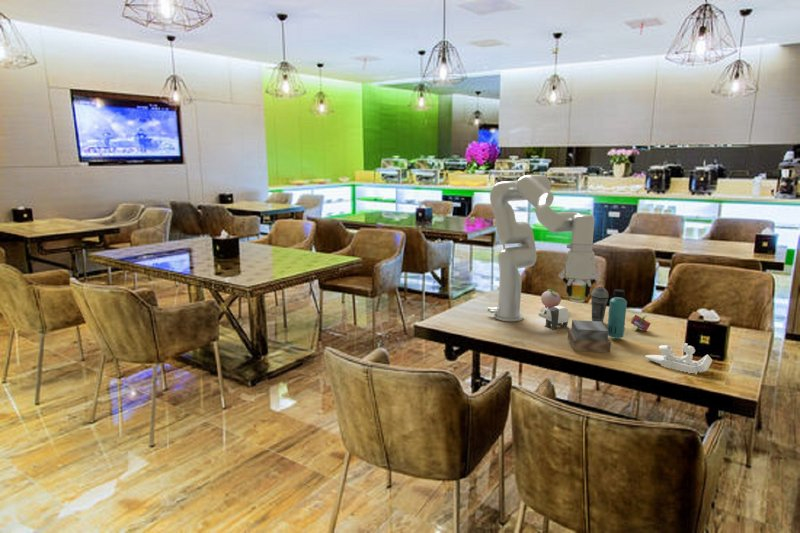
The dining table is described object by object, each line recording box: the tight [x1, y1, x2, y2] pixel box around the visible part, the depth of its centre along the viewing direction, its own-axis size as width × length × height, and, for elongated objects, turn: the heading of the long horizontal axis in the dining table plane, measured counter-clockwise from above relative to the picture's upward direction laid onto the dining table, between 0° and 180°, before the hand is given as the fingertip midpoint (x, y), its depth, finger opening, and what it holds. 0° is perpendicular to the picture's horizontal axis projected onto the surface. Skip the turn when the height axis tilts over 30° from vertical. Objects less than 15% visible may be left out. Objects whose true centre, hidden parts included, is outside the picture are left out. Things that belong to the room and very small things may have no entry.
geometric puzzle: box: [630, 314, 652, 333], centre depth 216 cm, size 7×7×8 cm
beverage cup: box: [590, 277, 610, 324], centre depth 225 cm, size 7×7×20 cm
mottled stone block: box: [567, 319, 612, 353], centre depth 199 cm, size 13×13×8 cm
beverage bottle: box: [606, 289, 628, 339], centre depth 205 cm, size 6×7×20 cm
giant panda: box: [538, 305, 570, 330], centre depth 219 cm, size 15×6×10 cm, turn 115°
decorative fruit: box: [540, 288, 562, 308], centre depth 244 cm, size 9×8×10 cm
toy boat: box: [644, 342, 713, 375], centre depth 179 cm, size 11×20×9 cm, turn 51°
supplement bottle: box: [569, 279, 587, 303], centre depth 195 cm, size 5×5×10 cm
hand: (577, 295), depth 196 cm, fingers closed on supplement bottle, 5 cm apart
